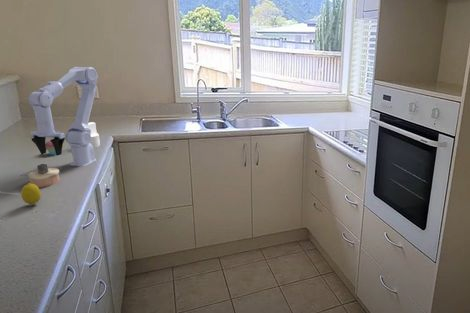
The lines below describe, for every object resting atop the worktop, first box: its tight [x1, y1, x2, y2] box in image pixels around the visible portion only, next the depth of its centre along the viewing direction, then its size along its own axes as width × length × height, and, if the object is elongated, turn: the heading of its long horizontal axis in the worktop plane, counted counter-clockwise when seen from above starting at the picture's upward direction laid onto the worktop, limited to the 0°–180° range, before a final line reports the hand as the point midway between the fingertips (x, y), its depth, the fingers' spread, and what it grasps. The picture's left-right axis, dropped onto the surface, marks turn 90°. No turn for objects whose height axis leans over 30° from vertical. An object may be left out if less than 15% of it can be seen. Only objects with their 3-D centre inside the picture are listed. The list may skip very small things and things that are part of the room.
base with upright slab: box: [87, 121, 101, 149], centre depth 180 cm, size 9×9×12 cm
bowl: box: [28, 173, 60, 188], centre depth 133 cm, size 10×10×4 cm
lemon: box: [21, 182, 42, 206], centre depth 114 cm, size 6×6×8 cm
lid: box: [26, 163, 60, 180], centre depth 132 cm, size 11×11×4 cm
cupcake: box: [45, 129, 64, 156], centre depth 167 cm, size 9×8×12 cm
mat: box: [20, 165, 64, 177], centre depth 144 cm, size 12×12×1 cm
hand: (51, 154), depth 139 cm, fingers open, 7 cm apart
